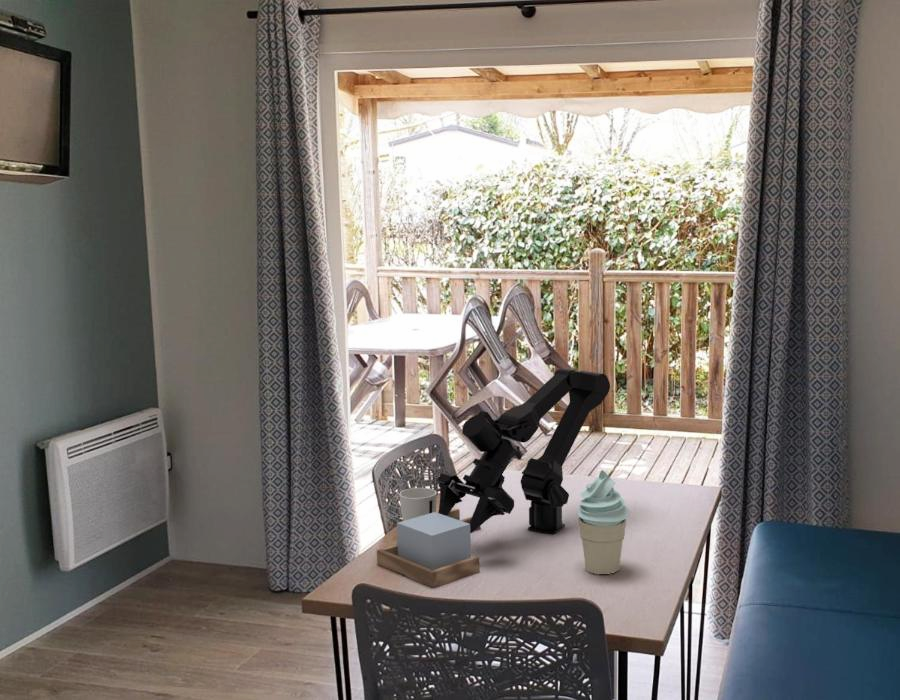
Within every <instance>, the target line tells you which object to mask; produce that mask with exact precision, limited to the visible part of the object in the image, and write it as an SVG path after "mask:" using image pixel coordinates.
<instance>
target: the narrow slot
mask: <svg viewBox="0 0 900 700" xmlns="http://www.w3.org/2000/svg"><path fill="white" fill-rule="evenodd" d="M447 516H448V517H451V518H454V519H457V520H460V521H463V522H466V523H470V521H471V518H472V516H471V517H467V518H463V519H461V518H460V517H461V514H460V509H459V508H452V509H451V511H450V512H449V514H448V515H447ZM481 526H482V525H480V526H479V527H478V528H477V529H476V530H474V531H473V532H475V531H479V530H481Z"/></svg>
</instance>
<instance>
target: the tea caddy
mask: <svg viewBox="0 0 900 700" xmlns="http://www.w3.org/2000/svg"><path fill="white" fill-rule="evenodd" d="M460 520H461V519H460ZM460 520H457V519H454V518H451V517H448V516H445V515H442V514H439V513H438V512H437V511H436V512H433V513H430V514H426V515H423V516H419V517H416V518H412V519H409V520H405V521H403V520H402V521H399V522H397V523H396V530H397V531H396V536H397V537H396V538H397V539H396V540H397V544H398V556H399V557H401V558H404V559H406V560H409V561H411V562H414V563H416V564H419V565H421V566H424V567H426V568H428V569H431V570H435V569H438V568H441V567H444V566H447V565H450V564H453V563H456V562H459V561H462V560H465V559H468V558H471V557H472V552H471V551H472V549H471V548H472V547H471V546H472V545H471V533H470V524H469V523H466V522H463V521H460Z"/></svg>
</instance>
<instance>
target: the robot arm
mask: <svg viewBox="0 0 900 700" xmlns="http://www.w3.org/2000/svg"><path fill="white" fill-rule="evenodd" d="M610 389H611V383H610V381H609V378H608V376H607V375H606V374H605V373H600V372H594V371H586V370H579V371H577V370H575V369H570V368H569V369H568V368H563V367H562V368H559V369H556V370H555V371H554V373H553V376H552V377H550V378H549V379H548V380H547V381H546V382H545V383H544V384H542V386H541V387H540V388H539V389H538V390H537V391H536V392H535V393H533V395H531V396H530V397H529V398H528V399H527V400H526V401H525V402H523V403H522V404H519V405H516V406H513V407H511V408H509V409H508V410H506V411H505V412H503V413H502V414H501V415H500V416H499V417H498V418H496V419H494V418H492V416H491V414H490V413H489V412H488V411H484V410H480V411H479V412H478V414H476V415H473V416H471V417H470V418H469V419H467V420H466V421H464V423H463V425H462V428H461V429H462V430H461V431H462V435H464V437H465V438H466V439H467V440H468V441H469V442H470V443H471V444H472V445H473V447H474V448H476V450H477V451H479V452H482V454H481V456H480V458H479V459H478V458H474V459H473V461H472V464H473V465H475V466H474V468H473V469H472V471H471V473H470V474H469V475H468V474H464V476H463V478H462V479H463V480H464V482H463V481H462V480H461V478H459V476H458V475H456V474H453V473H449V472H441V473H440V474H439V476H438V478H437V479H436V482H437V484H438V487H439V488H440V489H439V490H440V491H439V493H440V494H439V506H438V512H437V513H439V514H442V515H445V516H447V515H448V514H449V512H450V511H451V510H453V509H454V507H455V505H457V504H459V503H462V502H463V500H462V498H464V497H465V496H466V495H469V496H473V497H476V498H479V499H478V501H477V503H476V507H475V509H474V511H473V514H472V516H471V517H472V518H471V521H470V523H469V524H470V534H472V533H474V532H475V531H474V530H476V529H477V528H478V527H479V526H482V524H484V523H485V522H487V521H488V520H489V519H491V518H492V517H495V516H504V515H505V514H509V515H510V514H511V513H512V511H513V509H515V508H514V507H515V500H514V498H512V496H511V495H510V494H509V493H508V492H507V491H506V490H505V489H504V487H503V484H504V482H505V476H504V475H503V474H504V472H505V471H506V469H507V467H508V466H509V464H510V463H511V461H512V459H516V460H522V453H521V450H520V449H521V448H520V446H517V445H515V444H513V443H512V442H511V441H514V442H519V443H524V444H525V443H528V441H531V440H532V438H533V436H534V435H535V434H536V432H537V431H538V430H539V426H540V421H541V420H542V418H543V417H545V416H546V414H548V412H549V411H550V410H551V409H553V408H554V406H556V405H557V404H558V403H559V402H560V401H561V400H562V399H563V398H564V397H565V396H566V395H567V394H568V396H569V403H568V405H567V407H566V409H565V411H564V412H563V415H562V416H561V418H560V420H559V422H558V424H557V426H556V428H555V430H554V432H553V433H552V435H551V438H550V440H549V441H548V443H547V445H546V448H545V449H544V451H543V453H542V455H540V457H538V458H537V459H536V458H533V457H531V458H529V460H528V461H527V463H526V466H525V468H524V469H523V471H522V472H521V475H522V476H521V478H520V485H521V489H522V492H523V495H524V498H525V501H530V507H528V524H529V526H528V527H527V530H528V531H530V532H539V533H545V534H552V535H555V534H557V533H558V532H559V531H561V530H562V529H564V527H566V523H563V507H564V505H567V504H568V501H569V497H570V494H569V492H567V491H566V489H565V488H564V487H563V486H562V483H563V480H564V476H563V475H564V474H563V465H564V463H565V461H566V459H567V457H568V455H569V453H570V451H571V449H572V448H573V446H574V443H575V441H576V439H577V438H578V436H579V434H580V431H581V429H582V427H583V425H584V423H585V422H586V421H587V420H586V419H587V417H588V415H589V413H590V412H592V411H594V409H596V408H598V407H599V406H601V404H602V403H603V401H605V399H606V397H607V396H608V393H609V392H610ZM476 531H477V530H476Z"/></svg>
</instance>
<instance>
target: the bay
mask: <svg viewBox="0 0 900 700" xmlns="http://www.w3.org/2000/svg"><path fill="white" fill-rule="evenodd" d="M377 564H378V566H380V567H382V568H384V567H385V569H387V570H389V569H390V571H391V570H393V571H392V572H394V571H395V572H394V573H396V572H398V573H400V574H399V575H401V574H403V575H405V576H407V577H406V578H408V577H409V579H410V578H411V580H413V579H414V580H413V581H415V580H416V581H415V582H417V581H419V582H418V583H420V582H421V583H420V584H422V583H423V584H422V585H424V584H426V585H425V586H427V585H428V586H427V587H429V586H430V588H431V587H432V589H434V588H437V587H440V586H443V585H445V584H448V583H451V582H453V581H457V580H460V579H463V578H465V577H469V576H471V575H474V574H477V573H479V572H481V571H480V566H481V565H480V556H478V555H475V556H471V558H468V559H465V560H462V561H459V562H456V563H453V564H450V565H447V566H444V567H441V568H438V569H435V570H431V569H428V568H426V567H424V566H421V565H419V564H416V563H414V562H411V561H409V560H406V559H404V558H401V557H399V556H398V543H396V544H393V545H391V546H387V547H384V548H379V549H377V550H376V565H377ZM398 573H397V574H398ZM403 575H402V576H403ZM405 576H404V577H405ZM436 586H437V587H436Z"/></svg>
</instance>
